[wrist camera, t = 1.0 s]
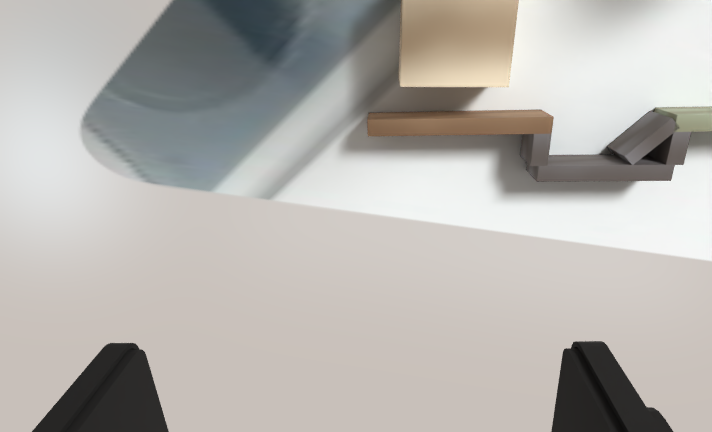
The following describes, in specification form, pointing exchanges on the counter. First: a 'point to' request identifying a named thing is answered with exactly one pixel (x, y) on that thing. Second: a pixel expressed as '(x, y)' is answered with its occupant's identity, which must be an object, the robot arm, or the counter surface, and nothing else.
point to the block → (456, 42)
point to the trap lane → (628, 163)
